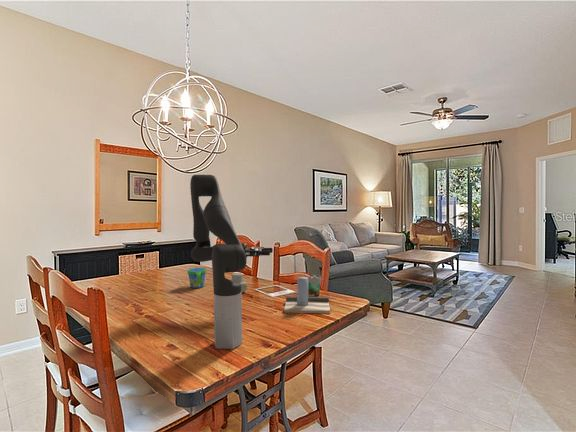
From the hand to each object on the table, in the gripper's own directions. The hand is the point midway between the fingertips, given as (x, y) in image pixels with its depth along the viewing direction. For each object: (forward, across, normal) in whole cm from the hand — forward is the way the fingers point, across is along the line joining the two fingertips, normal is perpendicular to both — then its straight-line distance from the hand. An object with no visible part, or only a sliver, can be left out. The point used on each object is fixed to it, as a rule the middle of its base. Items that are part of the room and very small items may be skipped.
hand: (271, 251), depth 140 cm
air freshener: (-22, +25, +26) cm, 42 cm away
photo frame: (-2, +28, +26) cm, 39 cm away
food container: (+20, +21, +26) cm, 39 cm away
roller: (+14, +2, +24) cm, 28 cm away
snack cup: (-48, +35, +26) cm, 65 cm away
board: (+16, +1, +26) cm, 30 cm away
